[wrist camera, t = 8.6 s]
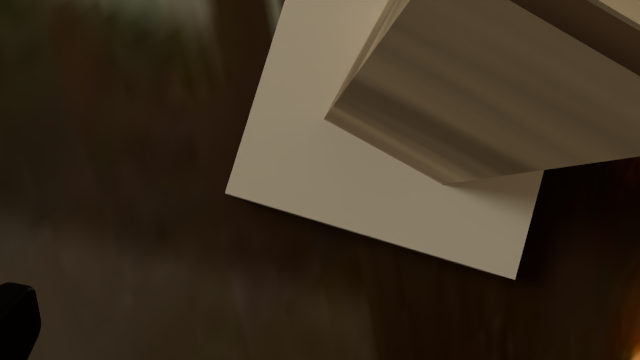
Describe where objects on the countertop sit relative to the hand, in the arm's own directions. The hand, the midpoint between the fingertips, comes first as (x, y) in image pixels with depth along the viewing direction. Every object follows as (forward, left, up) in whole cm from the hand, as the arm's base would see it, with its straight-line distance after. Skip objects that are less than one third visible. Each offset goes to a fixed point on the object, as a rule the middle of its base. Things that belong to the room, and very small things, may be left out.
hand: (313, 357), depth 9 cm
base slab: (+7, -2, -12) cm, 15 cm away
